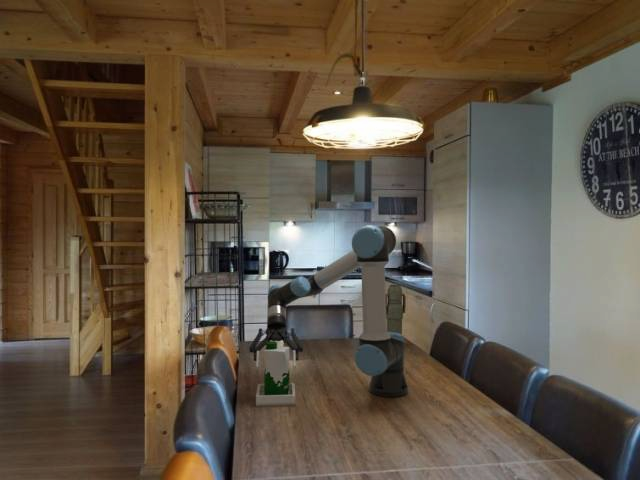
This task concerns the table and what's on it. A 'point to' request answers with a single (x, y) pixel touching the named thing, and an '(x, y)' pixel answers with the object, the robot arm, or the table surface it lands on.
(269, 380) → the soya milk
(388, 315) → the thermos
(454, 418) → the table surface
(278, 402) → the square holder
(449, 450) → the table surface
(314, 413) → the table surface
